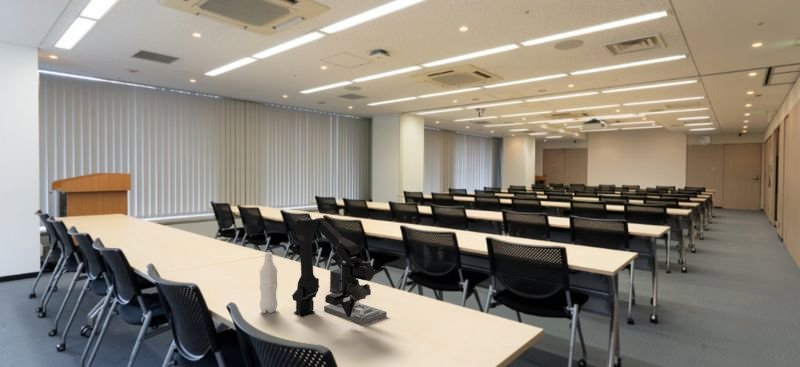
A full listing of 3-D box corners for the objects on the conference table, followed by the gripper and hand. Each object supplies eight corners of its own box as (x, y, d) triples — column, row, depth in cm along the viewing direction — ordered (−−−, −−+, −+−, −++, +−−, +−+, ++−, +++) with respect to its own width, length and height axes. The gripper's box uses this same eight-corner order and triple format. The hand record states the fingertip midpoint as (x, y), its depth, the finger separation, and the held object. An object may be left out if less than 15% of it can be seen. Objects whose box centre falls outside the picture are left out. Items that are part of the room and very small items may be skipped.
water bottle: (271, 315, 166) (271, 255, 165) (256, 313, 167) (256, 254, 166) (280, 309, 173) (280, 251, 172) (265, 308, 174) (265, 250, 173)
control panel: (363, 325, 155) (363, 316, 155) (324, 310, 171) (324, 302, 171) (386, 316, 165) (386, 308, 165) (347, 303, 181) (347, 295, 181)
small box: (338, 294, 195) (338, 272, 195) (329, 291, 199) (329, 270, 199) (353, 289, 203) (353, 268, 203) (344, 287, 207) (344, 266, 207)
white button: (354, 307, 165) (354, 303, 165) (349, 306, 168) (349, 301, 168) (360, 305, 168) (360, 301, 168) (355, 304, 170) (355, 299, 170)
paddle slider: (360, 317, 157) (360, 310, 157) (354, 316, 159) (354, 308, 159) (363, 316, 158) (363, 309, 158) (358, 314, 160) (358, 307, 160)
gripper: (343, 285, 142) (343, 329, 142) (380, 275, 156) (380, 315, 156) (324, 279, 149) (324, 321, 150) (361, 271, 163) (361, 308, 164)
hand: (348, 316), depth 155 cm, fingers closed
